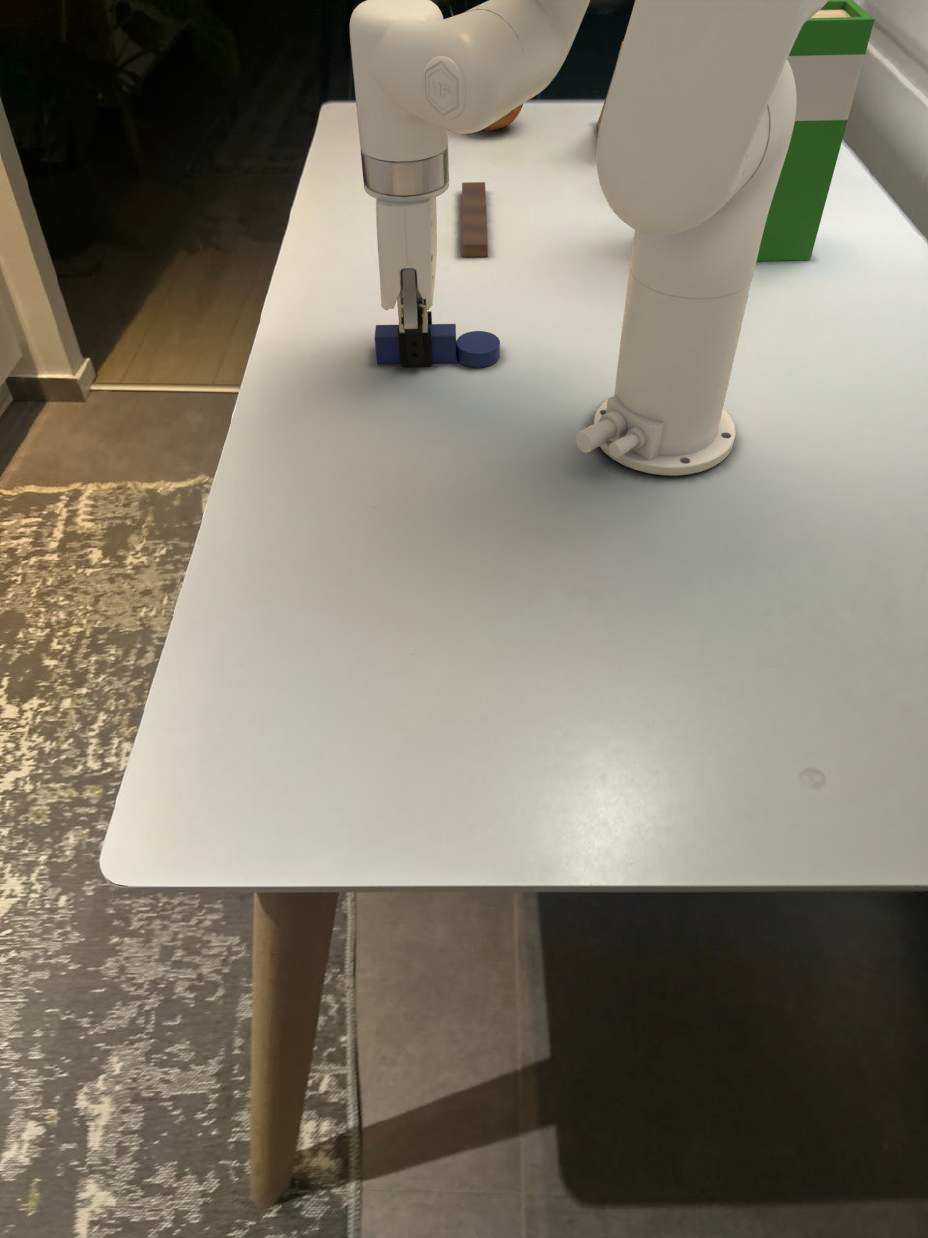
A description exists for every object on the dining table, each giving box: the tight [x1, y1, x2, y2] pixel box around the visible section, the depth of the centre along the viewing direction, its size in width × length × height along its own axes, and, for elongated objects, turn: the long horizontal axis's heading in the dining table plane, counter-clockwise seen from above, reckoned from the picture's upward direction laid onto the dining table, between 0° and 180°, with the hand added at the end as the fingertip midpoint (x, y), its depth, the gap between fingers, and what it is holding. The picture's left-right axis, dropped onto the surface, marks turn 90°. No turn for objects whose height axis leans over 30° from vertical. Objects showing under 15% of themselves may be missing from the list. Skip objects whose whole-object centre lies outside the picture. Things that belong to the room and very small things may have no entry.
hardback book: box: [756, 0, 876, 262], centre depth 100 cm, size 18×7×24 cm, turn 91°
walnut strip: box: [461, 181, 489, 258], centre depth 114 cm, size 18×3×2 cm, turn 0°
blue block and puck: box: [374, 323, 501, 369], centre depth 92 cm, size 12×4×3 cm, turn 90°
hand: (416, 355), depth 93 cm, fingers closed on blue block and puck, 2 cm apart
